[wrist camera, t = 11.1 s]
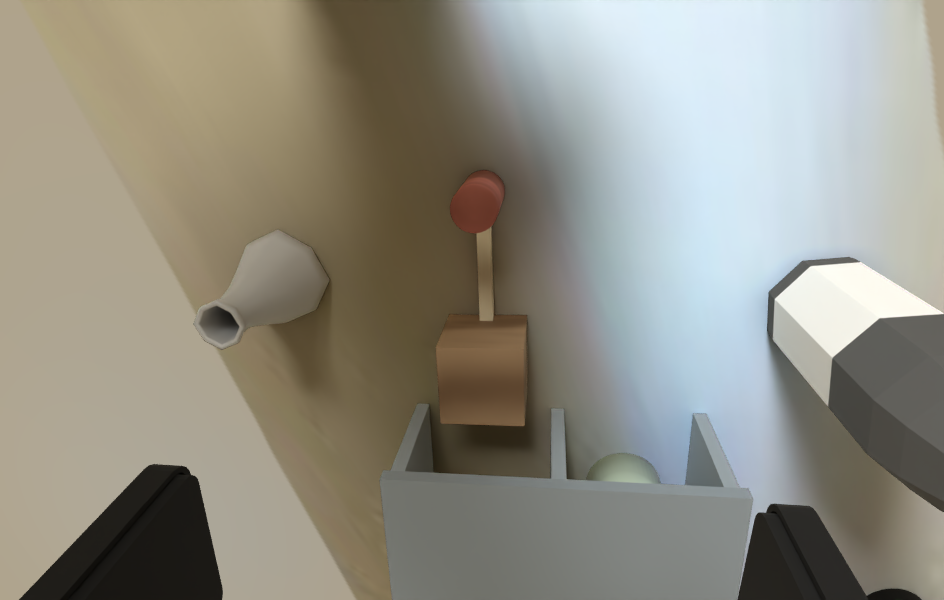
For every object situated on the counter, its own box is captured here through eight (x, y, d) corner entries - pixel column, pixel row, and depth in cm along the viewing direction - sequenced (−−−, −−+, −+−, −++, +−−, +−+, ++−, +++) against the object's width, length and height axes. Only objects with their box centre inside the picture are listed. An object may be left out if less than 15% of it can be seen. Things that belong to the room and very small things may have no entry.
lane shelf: (411, 403, 50) (379, 479, 41) (713, 413, 47) (753, 498, 38) (420, 520, 54) (393, 613, 45) (697, 536, 51) (730, 640, 42)
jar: (587, 451, 49) (592, 508, 43) (662, 454, 49) (679, 513, 42) (584, 510, 52) (589, 574, 45) (656, 514, 51) (672, 579, 44)
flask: (289, 335, 49) (228, 397, 40) (221, 272, 48) (142, 320, 38) (346, 280, 47) (296, 331, 37) (277, 211, 45) (207, 247, 36)
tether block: (441, 171, 43) (424, 186, 37) (525, 169, 42) (522, 184, 36) (453, 382, 49) (440, 423, 43) (527, 384, 48) (524, 426, 42)
